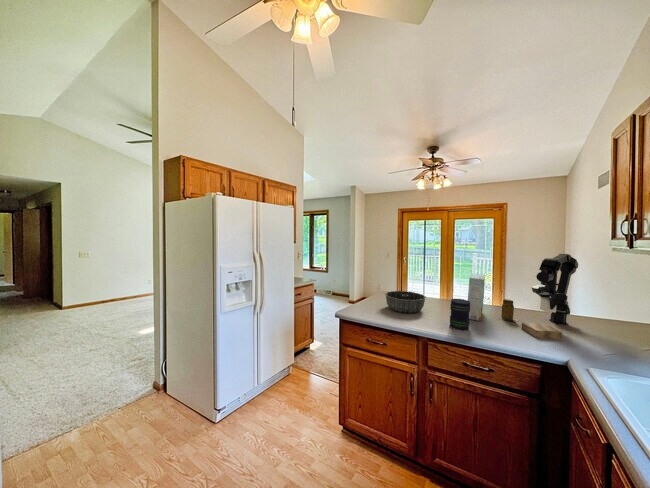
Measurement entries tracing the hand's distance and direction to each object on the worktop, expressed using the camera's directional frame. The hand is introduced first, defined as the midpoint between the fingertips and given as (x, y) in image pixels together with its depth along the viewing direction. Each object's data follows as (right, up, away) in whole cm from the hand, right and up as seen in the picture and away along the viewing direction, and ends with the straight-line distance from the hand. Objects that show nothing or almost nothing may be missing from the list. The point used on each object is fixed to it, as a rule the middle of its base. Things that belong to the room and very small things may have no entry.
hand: (548, 308), depth 149 cm
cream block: (0, -2, 0) cm, 2 cm away
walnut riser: (-12, -12, -10) cm, 20 cm away
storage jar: (-52, -10, -2) cm, 53 cm away
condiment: (-14, -10, +12) cm, 21 cm away
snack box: (-31, -10, +19) cm, 38 cm away
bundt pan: (-73, -8, +29) cm, 79 cm away
